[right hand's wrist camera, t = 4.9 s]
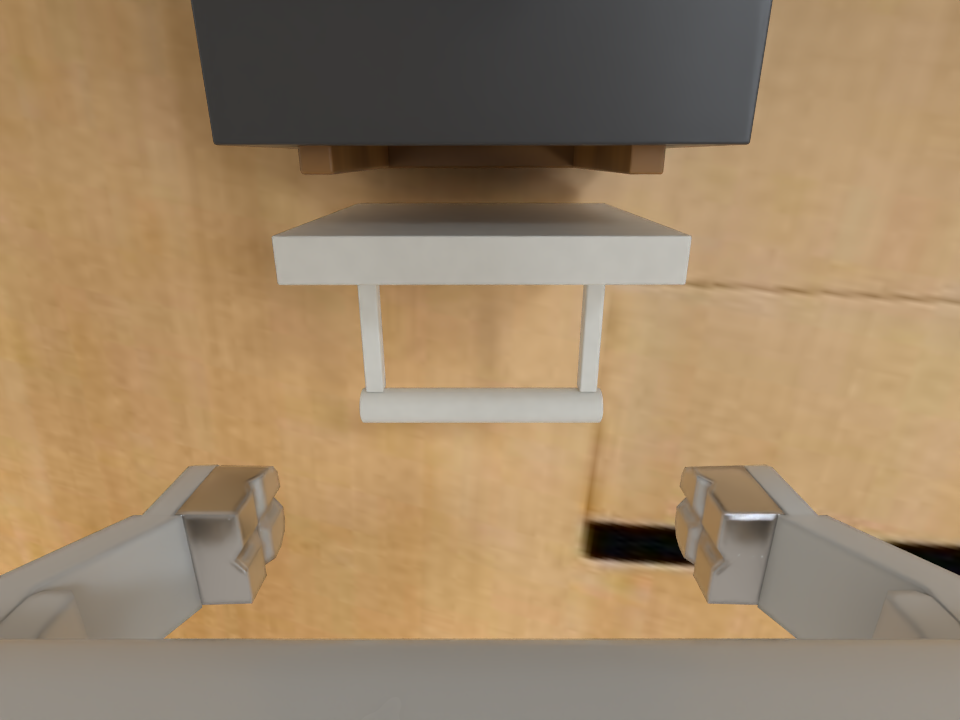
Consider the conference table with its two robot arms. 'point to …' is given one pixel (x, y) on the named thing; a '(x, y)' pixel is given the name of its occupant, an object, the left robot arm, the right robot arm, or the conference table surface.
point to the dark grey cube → (481, 71)
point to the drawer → (482, 264)
